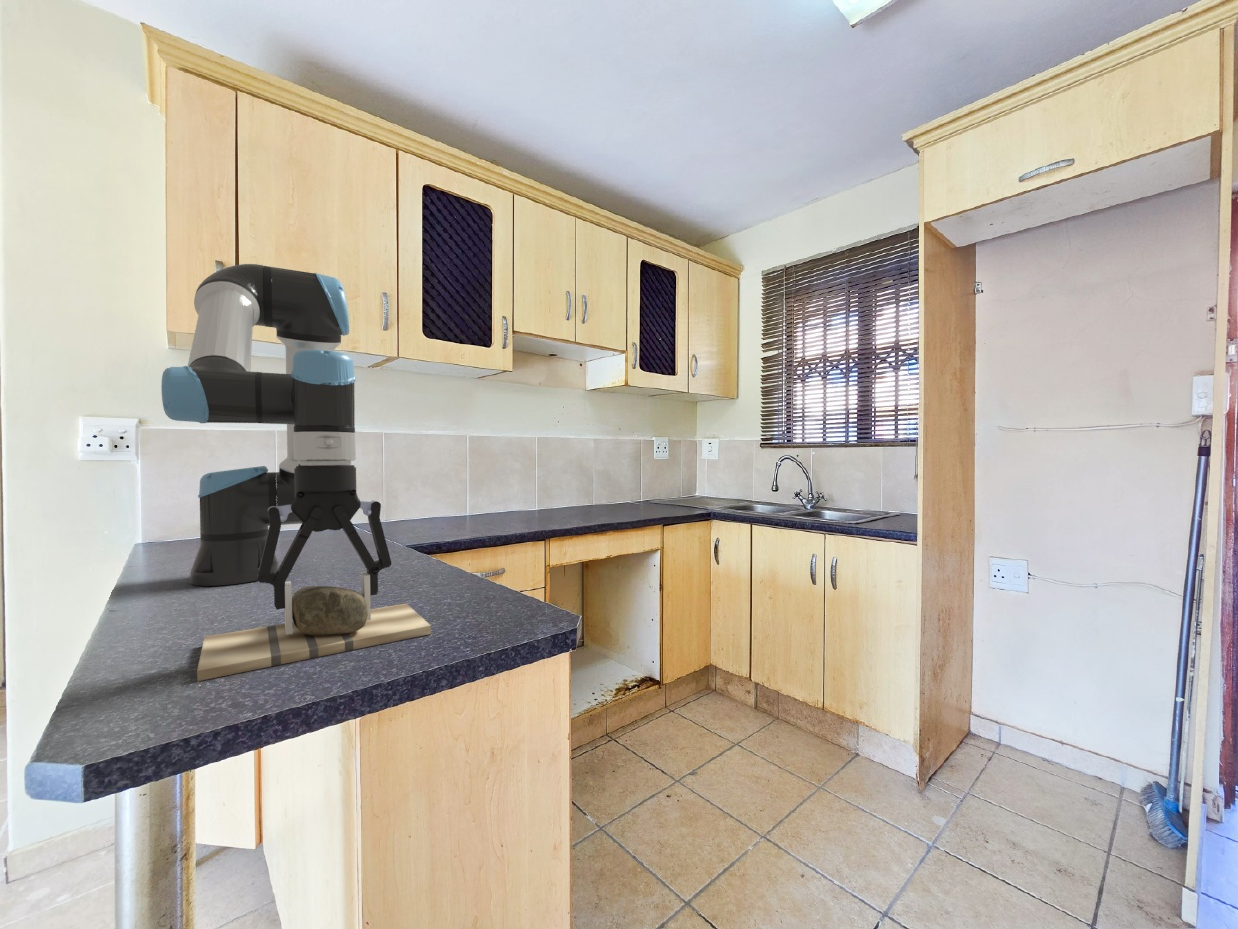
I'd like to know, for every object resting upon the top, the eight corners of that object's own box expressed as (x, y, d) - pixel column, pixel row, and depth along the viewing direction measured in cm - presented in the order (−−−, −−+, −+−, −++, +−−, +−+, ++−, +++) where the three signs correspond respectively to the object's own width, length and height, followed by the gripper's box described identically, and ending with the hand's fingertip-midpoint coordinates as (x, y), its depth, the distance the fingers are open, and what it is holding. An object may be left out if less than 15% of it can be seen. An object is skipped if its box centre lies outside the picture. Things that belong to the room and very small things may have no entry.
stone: (300, 641, 65) (287, 565, 68) (295, 663, 75) (285, 597, 78) (375, 621, 70) (360, 552, 73) (361, 644, 80) (349, 583, 83)
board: (204, 645, 71) (204, 636, 71) (406, 610, 86) (406, 603, 86) (197, 681, 59) (197, 670, 59) (431, 634, 74) (430, 625, 74)
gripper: (228, 465, 63) (232, 649, 64) (413, 462, 76) (416, 617, 76) (230, 464, 70) (234, 632, 70) (401, 462, 82) (403, 605, 82)
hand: (328, 624), depth 73 cm, fingers closed on stone, 9 cm apart
